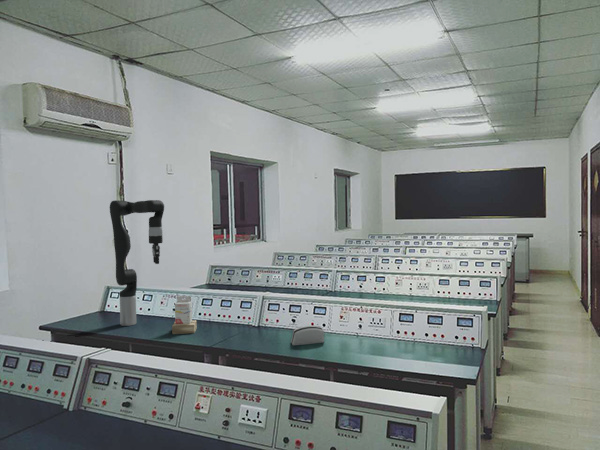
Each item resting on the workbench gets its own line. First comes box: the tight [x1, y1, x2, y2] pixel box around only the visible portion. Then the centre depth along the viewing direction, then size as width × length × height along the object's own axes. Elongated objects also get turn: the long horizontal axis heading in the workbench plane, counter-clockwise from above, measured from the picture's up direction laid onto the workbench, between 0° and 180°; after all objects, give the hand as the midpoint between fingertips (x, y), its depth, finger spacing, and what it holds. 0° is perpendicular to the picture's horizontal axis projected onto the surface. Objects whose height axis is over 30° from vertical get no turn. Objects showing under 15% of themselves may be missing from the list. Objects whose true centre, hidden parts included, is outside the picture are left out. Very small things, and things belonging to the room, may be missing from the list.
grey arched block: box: [290, 325, 325, 346], centre depth 242 cm, size 17×5×10 cm, turn 106°
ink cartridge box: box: [174, 295, 193, 324], centre depth 273 cm, size 9×5×15 cm, turn 88°
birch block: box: [171, 319, 198, 335], centre depth 274 cm, size 12×12×5 cm
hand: (156, 263), depth 278 cm, fingers open, 8 cm apart
